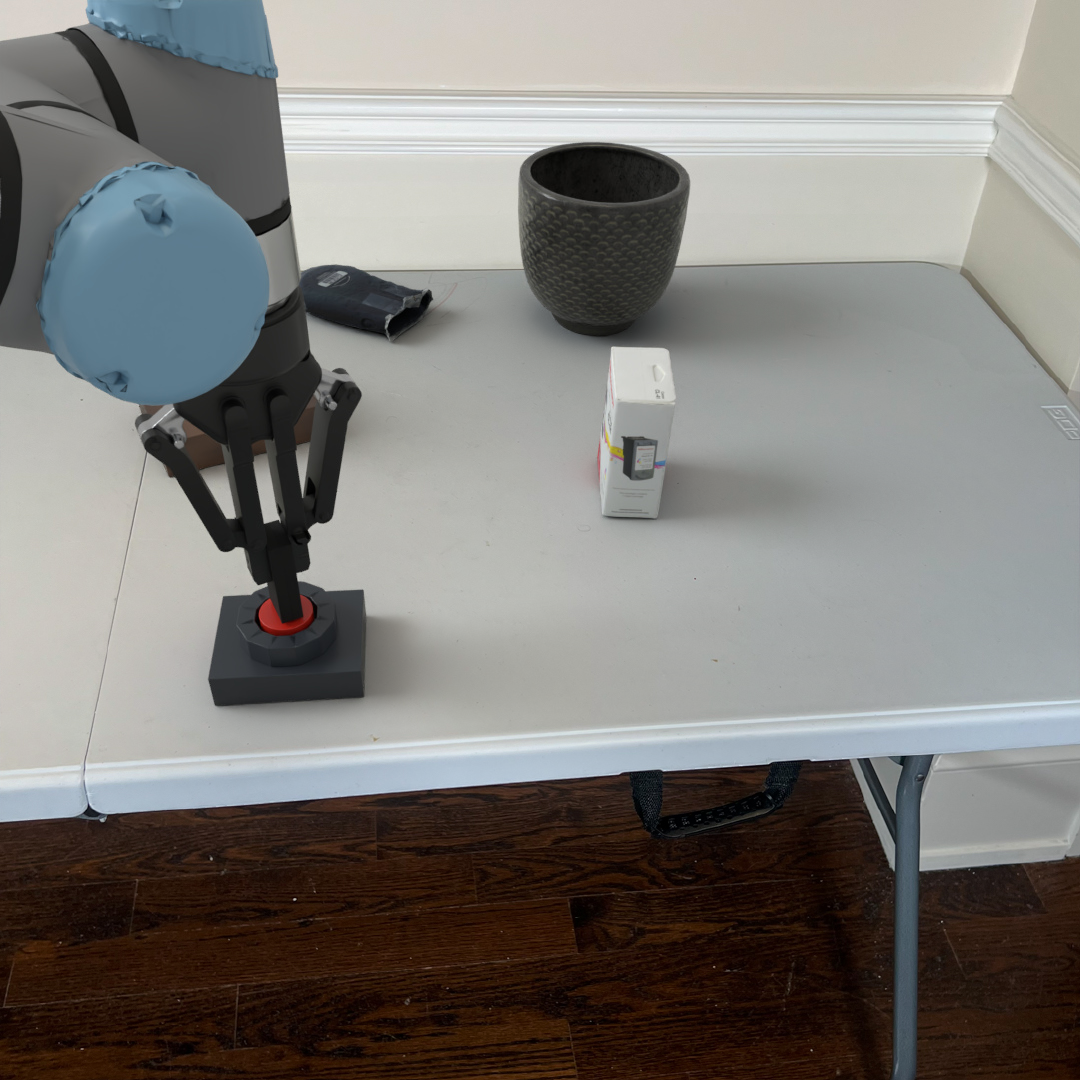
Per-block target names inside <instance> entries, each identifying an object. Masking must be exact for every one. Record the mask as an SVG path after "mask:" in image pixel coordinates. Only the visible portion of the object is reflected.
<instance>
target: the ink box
mask: <svg viewBox="0 0 1080 1080" xmlns="http://www.w3.org/2000/svg"><path fill="white" fill-rule="evenodd" d="M676 399H677V395H676V388H675V383H674V375H673V370H672V361H671V357H670V350H668V349H666V348H664V347H640V346H639V347H636V346H635V347H633V346H632V347H631V346H615V345H614V346H611V348H610V359H609V367H608V375H607V383H606V391H605V398H604V406H603V413H602V420H601V429H600V433H599V434H600V435H599V443H598V449H597V457H596V459H597V471H598V481H599V482H598V483H599V493H600V495H599V496H600V504H601V505H600V506H601V514H602V516H605V517H615V518H616V517H618V518H619V517H620V518H643V519H657V518H658V515H659V511H660V510H659V509H660V505H661V504H660V503H661V497H662V492H663V486H664V479H665V473H666V467H667V465H666V464H667V460H668V453H669V448H670V441H671V437H672V436H671V435H672V429H673V428H672V427H673V423H674V417H675V416H674V415H675V409H676Z"/></svg>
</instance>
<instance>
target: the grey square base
mask: <svg viewBox="0 0 1080 1080" xmlns="http://www.w3.org/2000/svg"><path fill="white" fill-rule="evenodd" d="M298 585H299V592H300V595H302V596H304V597H306V598H307V599H308V600H309V601H310V602H311V604H312V607H313V613H314V619H315V620H314V622H313V623H312V624H311V625H310V626H309V627H308V628H307V629H305V630H303V631H300V632H298V633H296V634H294V635H288V636H274V635H272V634H269V633H266V632H263V631H262V629H261V624H260V619H259V611H260V608H261V606H262V605H263V604H264V603H265V602H266V601H267V600H268V599H270V595H269V590H268V585H267V586H265V587H262V588H259V589H258V590H255V591H253V592H252V593H251V594H237V595H222V600H221V604H220V611H219V616H218V621H217V626H216V632H215V639H214V643H213V649H212V656H211V661H210V665H209V672H208V677H207V682H208V685H209V689H210V692H211V697H212V700H213V705H214V706H216V707H218V706H234V705H236V706H237V705H253V704H267V703H270V704H271V703H286V702H304V701H319V700H320V701H321V700H337V699H355V698H364V697H365V680H366V679H365V675H366V642H367V641H366V637H367V610H366V609H367V608H366V600H365V599H366V598H365V591H364V589H362V588H361V589H343V590H325V588H323V587H320V586H317V585H315V584H312V583H309V582H306V581H302V580H298Z"/></svg>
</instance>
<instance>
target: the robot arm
mask: <svg viewBox="0 0 1080 1080" xmlns="http://www.w3.org/2000/svg"><path fill="white" fill-rule="evenodd" d="M86 3H87V6H86V8H85V14H86V18H87V21H88V23H85V24H80V25H77V26H72V27H68V28H66V29H65V30H61V31H55V32H50V33H44V34H37V35H30V36H24V37H23V36H22V37H16V38H10V39H5V40H0V347H4V348H10V349H18V350H25V351H31V352H39V353H45V354H49V355H53V356H54V358H55V360H56V362H57V363H58V364H59V365H60V366H61V367H62V368H63V369H64V370H65V371H66V372H67V373H68V374H70V375H72V376H73V377H75V378H78V379H80V380H83V381H85V382H87V383H89V384H91V386H93V387H95V388H96V389H99V390H100V391H102V392H104V393H106V394H108V395H109V396H111V397H113V398H115V399H117V400H120V401H123V402H128V403H132V404H135V405H139V404H140V405H152V406H156V405H164V406H163V407H162V408H161V409H160V410H159V411H158V412H157V413H156V414H154V415H151V414H147V413H145V414H141V413H140V415H138V416H137V417H136V418H135V420H134V427H135V429H136V432H137V434H138V436H139V439H140V440H141V443H142V446H143V448H144V451H146V453H148V454H149V455H151V456H152V457H154V458H155V459H156V460H157V461H159V462H160V463H161V464H162V465H163V464H165V465H166V466H167V467H169V468H170V470H171V471H172V473H173V475H174V476H173V477H174V478H175V480H176V481H177V483H178V484H179V486H180V488H181V490H182V491H183V493H184V495H185V497H186V498H187V500H188V501H189V503H190V504H191V506H192V508H193V509H194V511H195V513H196V515H197V516H198V518H199V519H200V521H201V523H202V525H203V527H204V528H205V529H206V531H207V533H208V534H209V536H210V537H211V539H212V541H213V543H214V544H215V546H216V548H217V549H218V550H219V551H220V552H222V553H229V552H233V550H235V549H236V548H241V549H243V550H244V551H243V553H244V556H245V562H246V566H247V569H248V571H249V574H250V575H251V578H252V580H253V582H254V583H255V584H256V585H257V586H262V585H265V584H266V585H267V586H268V590H269V595H270V599H271V601H272V604H273V606H274V608H275V610H276V612H277V614H278V616H279V618H280V620H281V622H282V624H283V623H286V622H289V621H292V620H296V619H299V618H302V617H304V616H303V610H302V604H301V598H300V592H299V585H298V581H299V580H298V574H299V573H302V572H306V571H309V569H310V566H311V558H310V557H311V556H310V551H309V543H310V542H311V540H312V535H311V533H310V531H309V530H310V528H311V527H313V526H314V525H316V524H321V525H323V524H327V523H330V521H332V519H333V518H334V513H335V507H336V501H337V494H338V487H339V481H340V477H341V476H340V475H341V468H342V462H343V457H344V450H345V443H346V437H347V430H348V425H349V422H350V420H351V418H352V416H353V414H354V412H355V410H356V408H357V407H358V405H359V403H360V401H361V400H362V396H363V393H362V391H361V389H360V388H359V386H358V385H357V384H356V382H355V380H354V379H353V378H352V377H351V375H350V374H349V372H348V371H347V370H346V369H345V368H344V367H336V368H335V369H333V370H328V369H326V368H323V367H321V365H320V363H319V362H318V361H317V360H316V358H315V356H314V355H313V354H312V351H311V344H310V335H309V329H308V319H307V312H306V311H305V304H304V296H303V291H302V289H301V287H300V286H299V282H300V279H301V272H302V271H301V265H300V257H299V251H298V242H297V237H296V228H295V221H294V215H293V208H292V204H291V197H290V185H289V175H288V167H287V159H286V152H285V143H284V135H283V126H282V117H281V110H280V101H279V93H278V84H277V79H278V78H279V68H278V66H277V65H276V61H275V55H274V50H273V44H272V39H271V35H270V29H269V23H268V18H267V15H266V11H265V7H264V1H263V0H86ZM313 394H314V396H315V398H316V400H317V402H316V406H315V412H314V419H313V426H312V433H311V441H309V450H308V456H307V463H306V472H305V476H304V477H305V478H304V485H303V491H302V486H301V479H300V472H299V466H298V458H297V452H296V451H298V446H297V445H296V439H295V432H294V426H295V425H296V424H297V422H298V420H299V419H300V417H301V415H302V414H303V412H304V410H305V408H306V407H307V405H308V403H309V401H310V400H311V398H312V396H313ZM185 420H187V421H188V422H189V423H191V424H192V425H194V426H195V427H196V428H198V429H199V430H201V431H202V432H203V433H205V434H206V435H208V436H209V437H210V438H212V439H213V440H215V441H216V442H218V443H220V444H221V446H222V451H223V455H224V460H225V463H224V465H225V470H226V475H227V480H228V485H229V491H230V494H231V499H232V505H233V510H234V515H235V516H234V518H227V517H226V515H225V513H224V512H223V510H222V508H221V507H220V505H219V502H218V501H217V499H216V498H215V496H214V494H213V493H212V491H211V489H210V487H209V486H208V484H207V482H206V480H205V479H204V477H203V475H202V473H201V472H200V469H199V470H198V468H197V466H196V465H195V463H194V461H193V460H192V458H191V456H190V454H189V453H188V451H187V449H186V447H185V446H184V443H185V442H186V440H187V435H186V432H185V430H184V428H183V423H184V421H185ZM259 440H265V446H266V451H267V452H266V457H267V462H268V468H269V473H270V480H271V484H272V485H271V486H272V491H273V496H274V502H275V508H276V514H277V516H278V517H279V519H275V520H274V521H272V520H271V521H269V522H265V520H264V515H263V510H262V505H261V500H260V494H259V493H260V492H259V487H258V482H257V476H256V471H255V466H254V462H255V457H254V456H255V455H254V456H253V450H252V445H251V444H253V443H255V442H257V441H259Z"/></svg>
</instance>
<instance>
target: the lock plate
mask: <svg viewBox="0 0 1080 1080" xmlns="http://www.w3.org/2000/svg"><path fill="white" fill-rule="evenodd" d="M316 402H317V400H316V398H315V396H314V394H313V396H312V398H311V400H310V401H309V403H308V405H307V407H306V408H305V410H304V412H303V414H302V415H301V417H300V419H299V420H298V422H297V424H296V425H295V426H294V432H295V439H296V446H297V445H300V444H304V443H308V442H310V441H311V433H312V426H313V419H314V412H315V406H316ZM138 406H139V410H140V415H141V414H145V413H147V414H151V415H154V414H156V413H157V412H158V411H159V410H160V409H161V408H162V407H163V406H164V405H156V406H152V405H140V404H138ZM183 428H184V430H185V432H186V435H187V440H186V442H185V443H184V446H185V447H186V449H187V451H188V453H189V454H190V456H191V458H192V460H193V461H194V463H195V465H196V466H197V468H198V470H199V471H200V470H202V469H207V468H210V467H214V466H217V465H222V464H225V460H224V455H223V451H222V446H221V444H220V443H218V442H216V441H215V440H213V439H212V438H210V437H209V436H208V435H206V434H205V433H203V432H202V431H201V430H199V429H198V428H196V427H195V426H194V425H192V424H191V423H189V422H188V421H187V420H185V421H184V423H183ZM251 445H252V450H253V456H257V455H262V454H265V453H267V451H266V446H265V440H259V441H257V442H255V443H253V444H251ZM162 465H163V467H164V470H165V472H166V474H167V476H168V478H171V477H175V476H174V475H173V473H172V471H171V470H170V468H169V467H167V466H166V465H165V464H163V463H162Z"/></svg>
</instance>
